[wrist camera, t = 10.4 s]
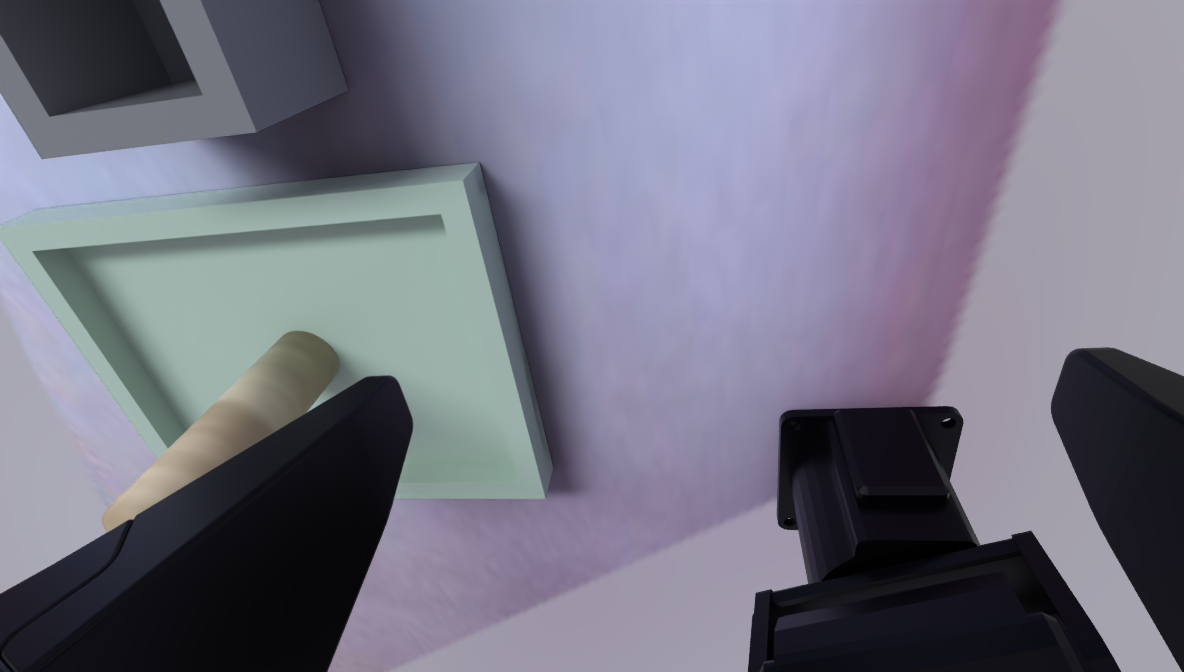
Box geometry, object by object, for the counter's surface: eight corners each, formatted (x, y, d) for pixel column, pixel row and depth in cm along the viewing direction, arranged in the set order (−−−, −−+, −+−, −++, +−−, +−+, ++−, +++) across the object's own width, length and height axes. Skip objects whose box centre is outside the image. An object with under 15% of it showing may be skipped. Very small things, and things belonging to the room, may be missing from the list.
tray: (553, 468, 28) (545, 499, 26) (208, 471, 31) (184, 498, 29) (479, 162, 20) (462, 180, 19) (36, 209, 23) (-9, 227, 22)
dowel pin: (348, 381, 25) (208, 565, 18) (293, 384, 26) (134, 565, 18) (324, 328, 24) (162, 505, 17) (266, 332, 25) (83, 505, 17)
